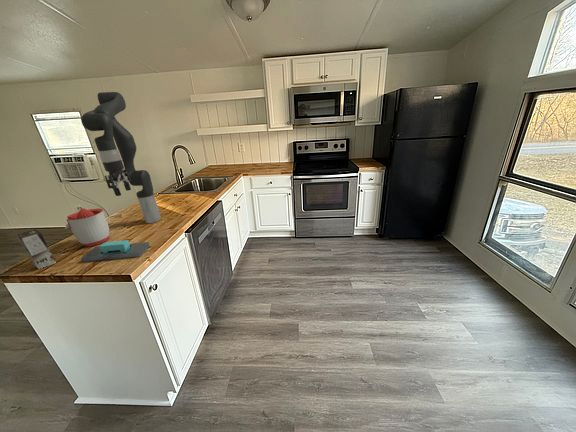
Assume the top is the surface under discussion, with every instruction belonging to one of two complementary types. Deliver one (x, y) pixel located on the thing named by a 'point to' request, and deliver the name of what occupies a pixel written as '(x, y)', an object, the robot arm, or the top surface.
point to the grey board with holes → (116, 253)
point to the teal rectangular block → (115, 246)
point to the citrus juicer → (89, 226)
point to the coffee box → (36, 248)
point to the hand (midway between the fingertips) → (123, 192)
